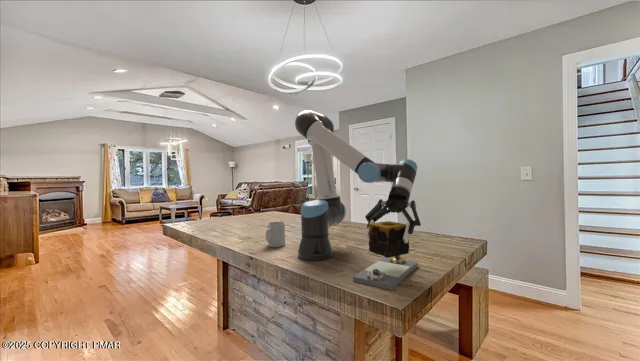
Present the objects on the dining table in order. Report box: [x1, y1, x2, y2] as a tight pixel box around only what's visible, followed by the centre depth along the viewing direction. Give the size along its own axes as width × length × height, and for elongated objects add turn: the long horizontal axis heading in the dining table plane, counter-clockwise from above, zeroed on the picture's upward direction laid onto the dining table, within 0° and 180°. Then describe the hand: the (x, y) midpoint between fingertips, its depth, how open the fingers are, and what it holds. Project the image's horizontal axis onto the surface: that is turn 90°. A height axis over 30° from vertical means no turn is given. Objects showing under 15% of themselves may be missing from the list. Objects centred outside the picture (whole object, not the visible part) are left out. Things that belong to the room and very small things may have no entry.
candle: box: [368, 221, 410, 258], centre depth 95 cm, size 10×10×10 cm
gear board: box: [352, 255, 418, 291], centre depth 96 cm, size 13×26×4 cm, turn 144°
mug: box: [265, 221, 286, 248], centre depth 136 cm, size 12×8×11 cm
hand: (385, 238), depth 94 cm, fingers closed on candle, 13 cm apart
